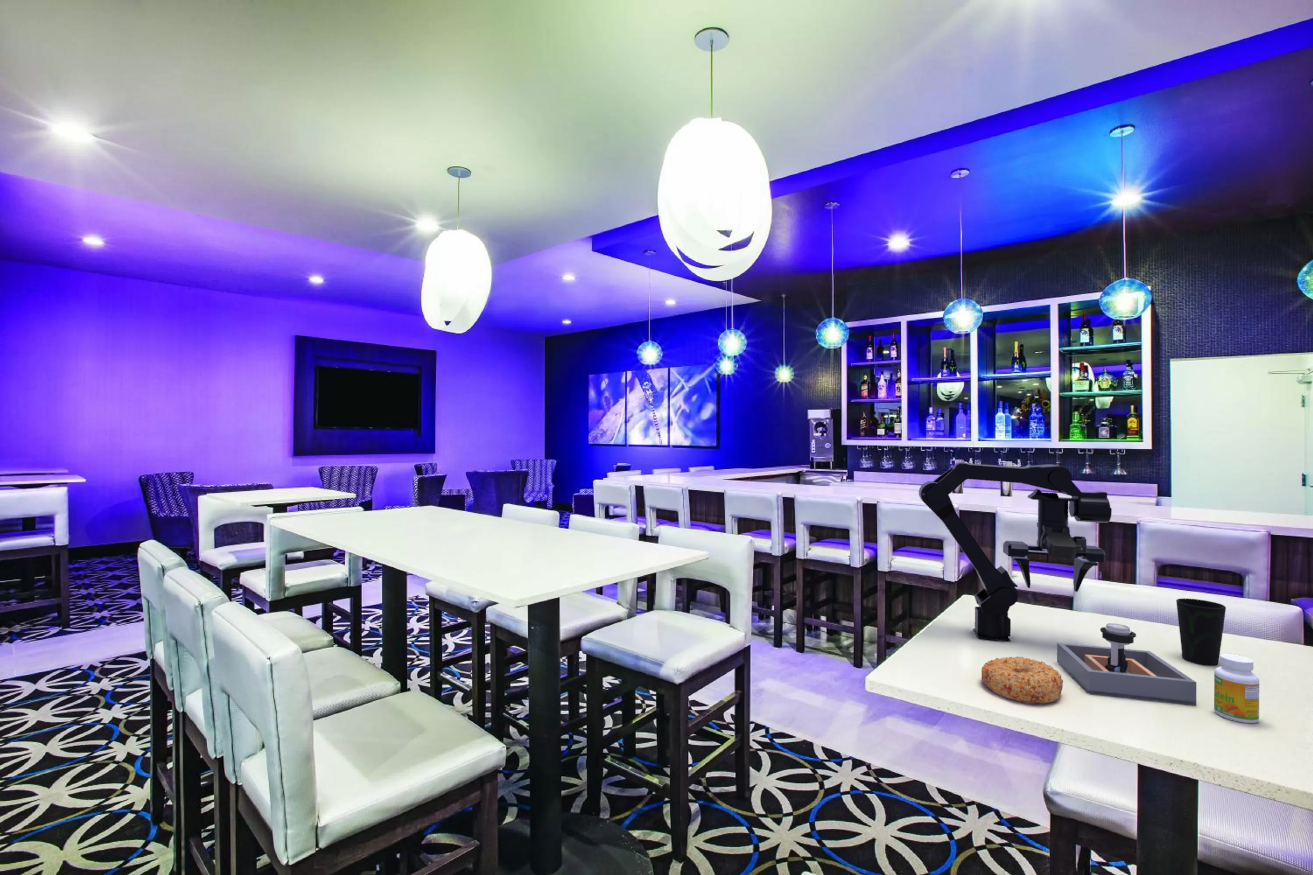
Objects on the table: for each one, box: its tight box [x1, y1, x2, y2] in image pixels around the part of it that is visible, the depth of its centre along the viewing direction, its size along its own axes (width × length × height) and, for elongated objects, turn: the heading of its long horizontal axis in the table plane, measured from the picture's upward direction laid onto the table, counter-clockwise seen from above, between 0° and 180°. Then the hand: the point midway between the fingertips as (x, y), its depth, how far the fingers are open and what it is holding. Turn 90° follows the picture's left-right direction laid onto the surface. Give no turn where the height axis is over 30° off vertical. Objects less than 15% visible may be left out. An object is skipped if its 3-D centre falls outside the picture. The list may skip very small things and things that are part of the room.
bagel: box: [981, 656, 1064, 705], centre depth 110 cm, size 13×14×5 cm
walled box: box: [1056, 642, 1197, 706], centre depth 114 cm, size 16×16×4 cm
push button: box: [1099, 622, 1137, 673], centre depth 114 cm, size 7×5×10 cm
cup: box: [1175, 597, 1227, 667], centre depth 125 cm, size 8×8×12 cm
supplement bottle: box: [1213, 653, 1260, 724], centre depth 100 cm, size 5×5×10 cm
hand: (1051, 589), depth 136 cm, fingers open, 9 cm apart
